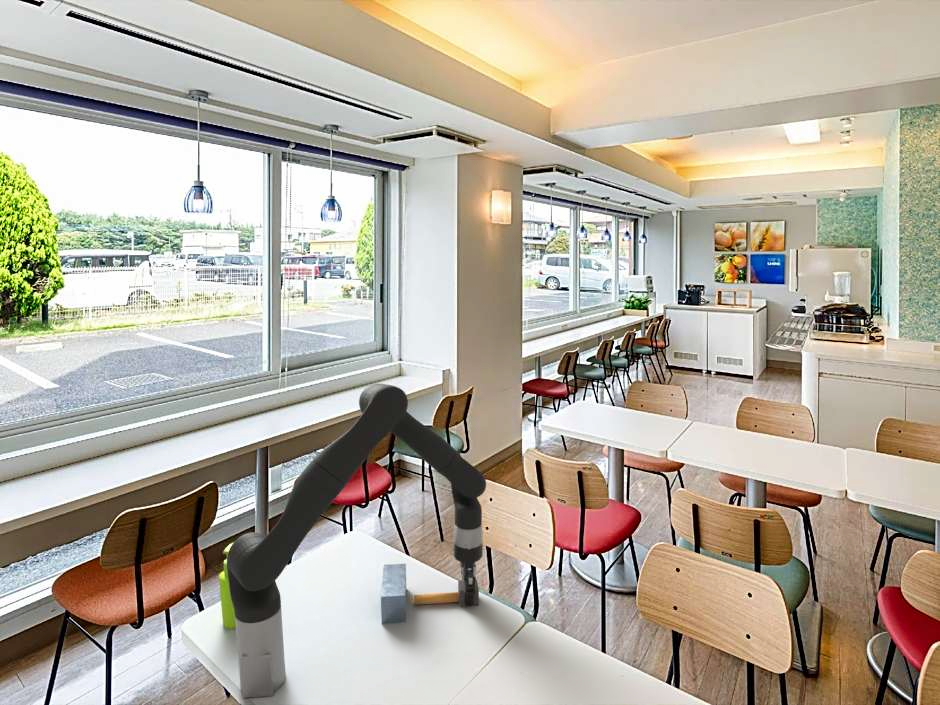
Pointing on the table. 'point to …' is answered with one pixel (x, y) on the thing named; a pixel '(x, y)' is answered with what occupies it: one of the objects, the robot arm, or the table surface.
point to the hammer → (447, 596)
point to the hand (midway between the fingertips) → (468, 598)
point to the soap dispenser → (226, 596)
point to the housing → (393, 594)
